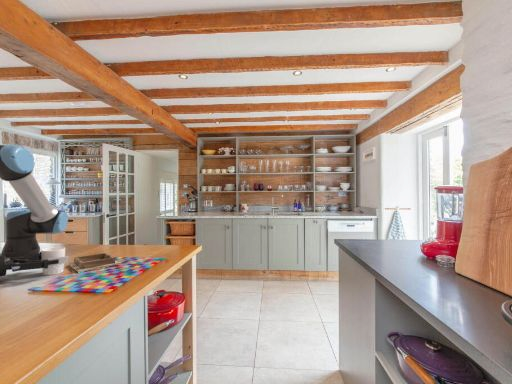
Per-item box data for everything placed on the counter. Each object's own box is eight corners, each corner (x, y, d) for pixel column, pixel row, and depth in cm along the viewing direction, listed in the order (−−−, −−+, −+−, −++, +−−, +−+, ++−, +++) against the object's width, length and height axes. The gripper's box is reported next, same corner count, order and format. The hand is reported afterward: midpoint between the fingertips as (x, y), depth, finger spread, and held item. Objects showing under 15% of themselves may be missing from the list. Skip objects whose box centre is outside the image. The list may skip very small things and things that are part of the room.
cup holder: (69, 265, 117) (69, 257, 117) (108, 258, 129) (108, 251, 129) (78, 273, 106) (78, 264, 106) (119, 265, 118) (119, 257, 118)
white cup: (37, 274, 105) (37, 249, 105) (59, 268, 112) (59, 245, 112) (46, 277, 101) (47, 251, 101) (69, 271, 108) (69, 248, 108)
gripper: (-10, 270, 101) (59, 260, 117) (-9, 286, 85) (71, 271, 101) (-10, 251, 101) (59, 243, 117) (-9, 263, 85) (71, 252, 101)
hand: (65, 256), depth 109 cm, fingers open, 11 cm apart
